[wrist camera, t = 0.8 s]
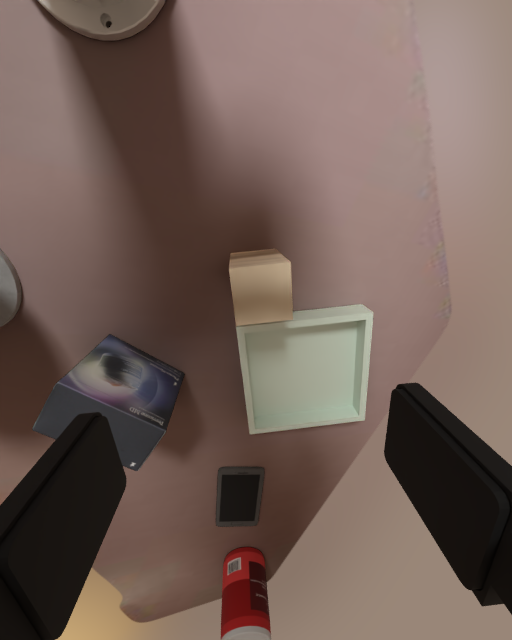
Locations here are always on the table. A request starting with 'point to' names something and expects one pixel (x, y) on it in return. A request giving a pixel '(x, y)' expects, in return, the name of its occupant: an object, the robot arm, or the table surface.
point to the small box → (116, 398)
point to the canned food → (245, 596)
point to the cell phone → (239, 496)
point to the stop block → (261, 286)
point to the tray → (306, 368)
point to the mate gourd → (8, 290)
